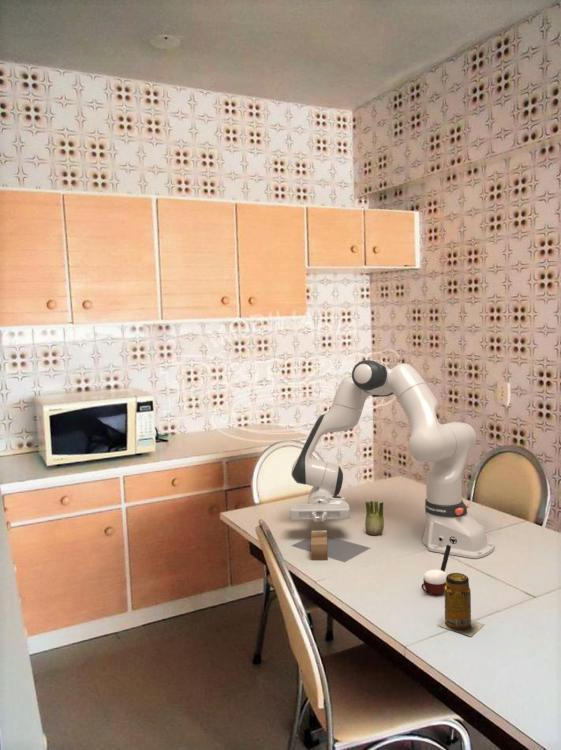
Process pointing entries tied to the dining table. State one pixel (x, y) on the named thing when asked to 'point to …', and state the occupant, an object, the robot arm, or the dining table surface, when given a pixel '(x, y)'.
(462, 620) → the condiment
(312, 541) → the walnut block
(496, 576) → the dining table surface
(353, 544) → the felt mat
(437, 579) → the cocoa
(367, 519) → the fennel bulb
